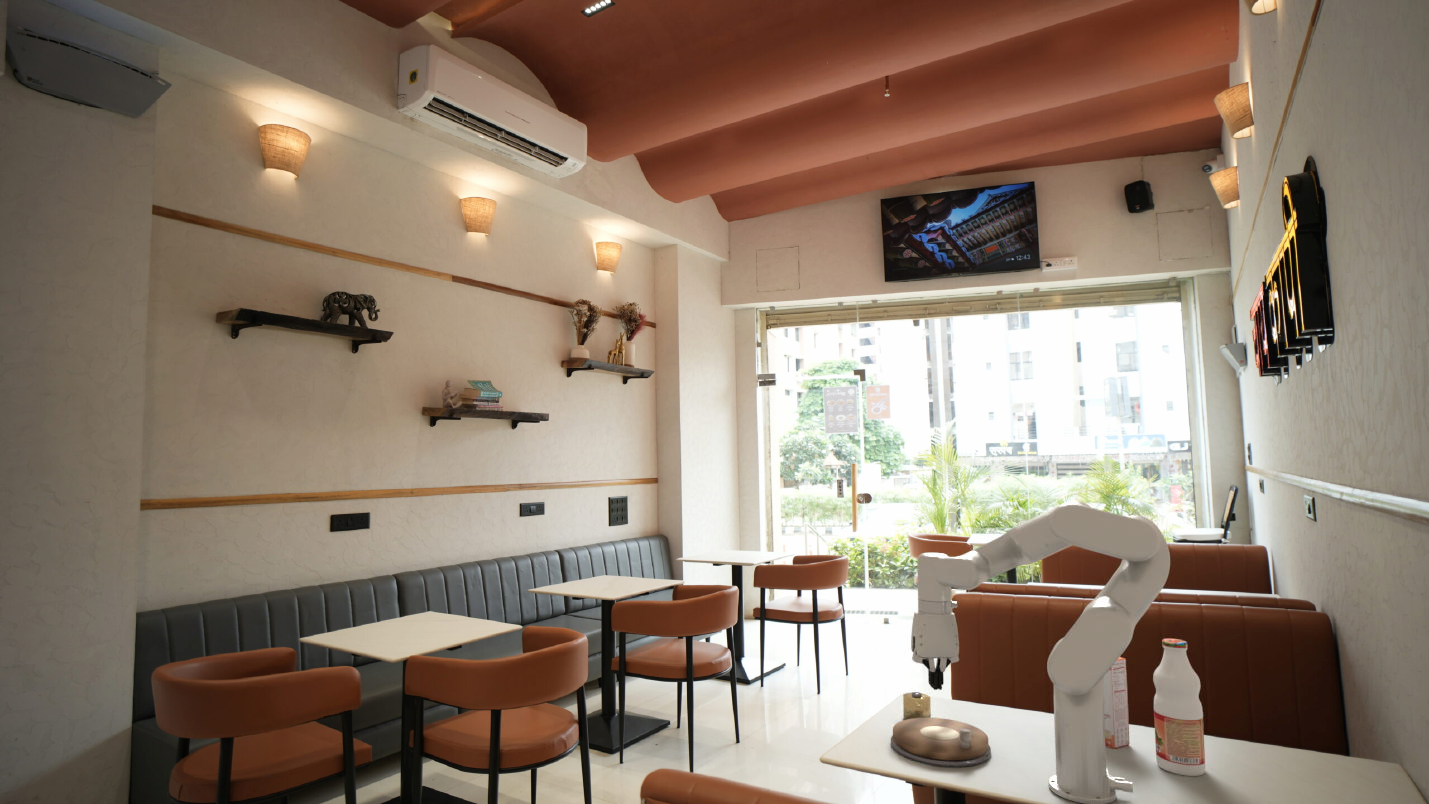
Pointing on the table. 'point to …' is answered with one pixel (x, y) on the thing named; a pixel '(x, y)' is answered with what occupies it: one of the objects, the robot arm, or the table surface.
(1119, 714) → the cracker box
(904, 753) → the turntable base
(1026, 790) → the table surface
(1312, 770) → the table surface
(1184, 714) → the fruit juice
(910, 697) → the cover
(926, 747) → the turntable
